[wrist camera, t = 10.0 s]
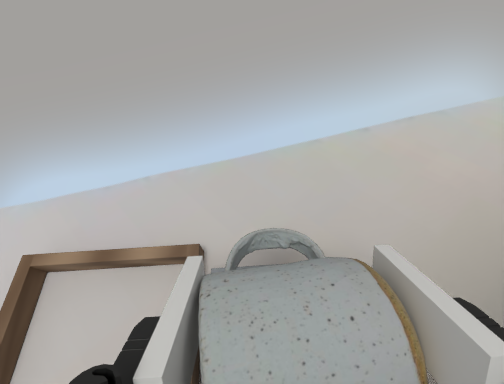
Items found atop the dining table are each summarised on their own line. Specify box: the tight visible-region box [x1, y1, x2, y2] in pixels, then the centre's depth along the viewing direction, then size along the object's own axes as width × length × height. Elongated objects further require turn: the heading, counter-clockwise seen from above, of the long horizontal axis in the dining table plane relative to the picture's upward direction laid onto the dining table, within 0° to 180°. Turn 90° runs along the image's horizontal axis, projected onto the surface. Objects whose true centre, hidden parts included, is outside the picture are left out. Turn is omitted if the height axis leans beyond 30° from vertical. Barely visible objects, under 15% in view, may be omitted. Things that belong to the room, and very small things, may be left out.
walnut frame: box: [0, 244, 204, 384], centre depth 19 cm, size 15×16×2 cm
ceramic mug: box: [198, 228, 428, 384], centre depth 13 cm, size 11×8×8 cm
